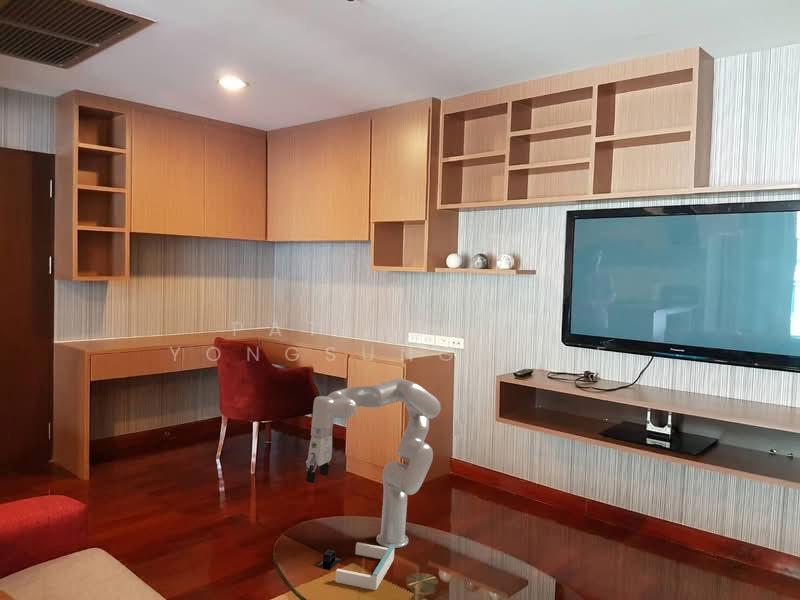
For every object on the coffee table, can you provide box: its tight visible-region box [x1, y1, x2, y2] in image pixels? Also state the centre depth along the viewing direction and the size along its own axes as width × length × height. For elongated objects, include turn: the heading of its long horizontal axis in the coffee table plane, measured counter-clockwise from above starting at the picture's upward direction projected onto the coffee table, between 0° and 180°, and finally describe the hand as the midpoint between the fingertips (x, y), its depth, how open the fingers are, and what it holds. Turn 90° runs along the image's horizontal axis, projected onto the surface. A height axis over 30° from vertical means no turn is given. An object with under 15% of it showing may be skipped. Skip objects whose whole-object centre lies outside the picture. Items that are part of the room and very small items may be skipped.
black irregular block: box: [316, 549, 342, 571], centre depth 224 cm, size 12×7×5 cm, turn 159°
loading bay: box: [334, 541, 396, 591], centre depth 221 cm, size 23×14×5 cm, turn 166°
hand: (317, 478), depth 223 cm, fingers open, 9 cm apart
